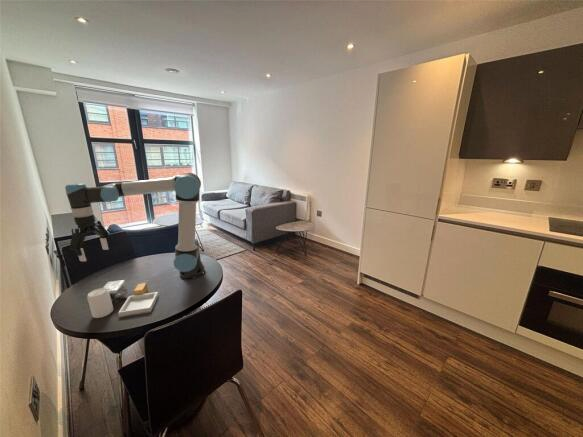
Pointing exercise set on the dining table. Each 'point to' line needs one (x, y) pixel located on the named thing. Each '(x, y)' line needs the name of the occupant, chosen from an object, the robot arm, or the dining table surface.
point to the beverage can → (100, 302)
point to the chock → (141, 289)
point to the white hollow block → (116, 290)
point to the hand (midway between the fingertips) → (95, 254)
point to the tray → (138, 304)
